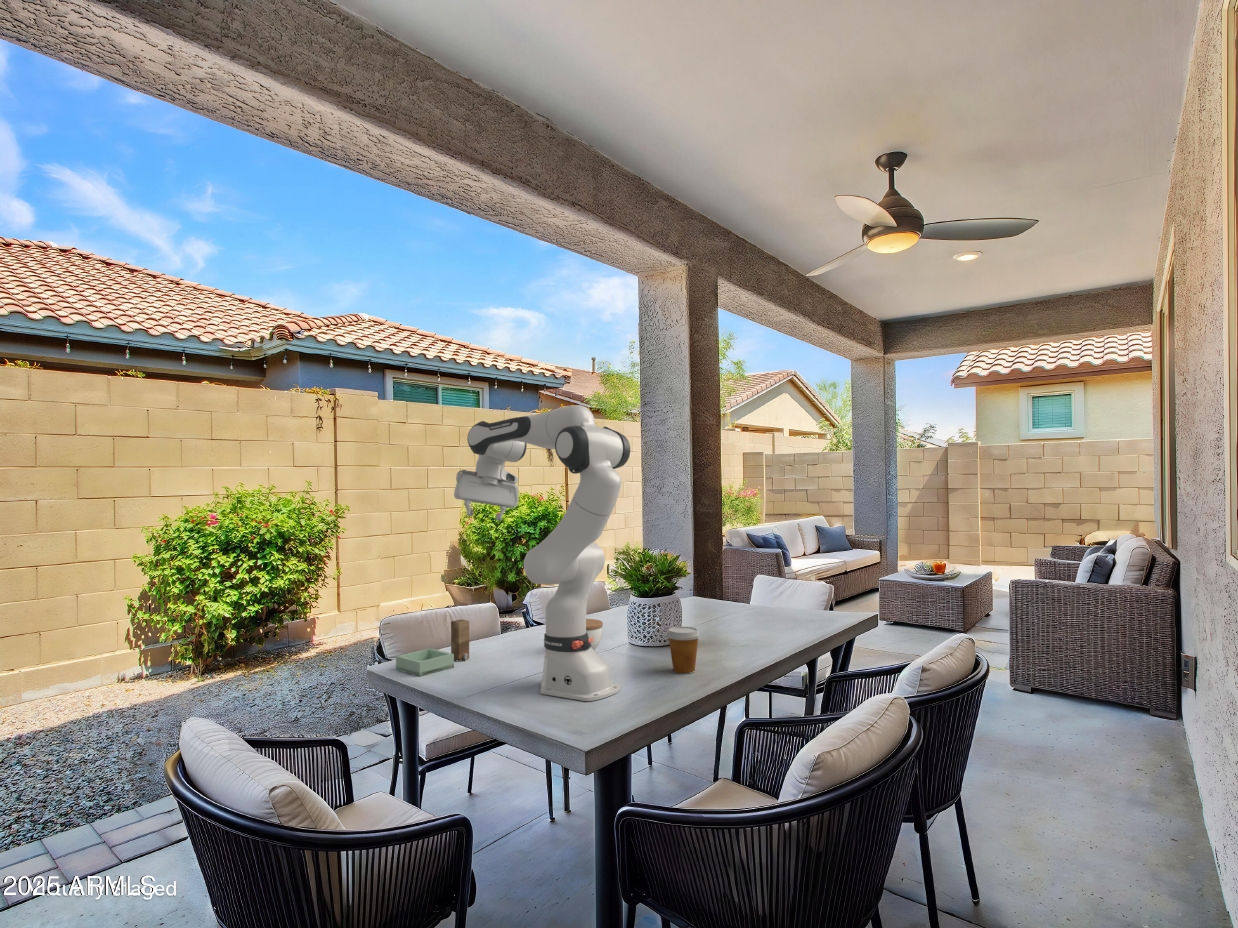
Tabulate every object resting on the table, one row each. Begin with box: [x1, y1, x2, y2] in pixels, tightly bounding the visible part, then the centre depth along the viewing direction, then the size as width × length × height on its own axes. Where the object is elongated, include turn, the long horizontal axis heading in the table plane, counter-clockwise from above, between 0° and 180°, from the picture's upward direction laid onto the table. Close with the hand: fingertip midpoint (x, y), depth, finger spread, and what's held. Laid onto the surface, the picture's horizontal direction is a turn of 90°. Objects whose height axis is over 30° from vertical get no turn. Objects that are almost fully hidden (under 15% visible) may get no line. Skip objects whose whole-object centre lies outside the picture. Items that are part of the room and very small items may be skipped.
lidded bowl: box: [586, 618, 604, 651], centre depth 216 cm, size 13×13×11 cm
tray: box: [395, 647, 455, 677], centre depth 196 cm, size 12×12×4 cm
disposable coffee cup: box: [666, 626, 701, 674], centre depth 190 cm, size 10×10×12 cm
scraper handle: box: [450, 619, 470, 662], centre depth 206 cm, size 6×4×12 cm, turn 52°
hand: (484, 517), depth 201 cm, fingers open, 8 cm apart
